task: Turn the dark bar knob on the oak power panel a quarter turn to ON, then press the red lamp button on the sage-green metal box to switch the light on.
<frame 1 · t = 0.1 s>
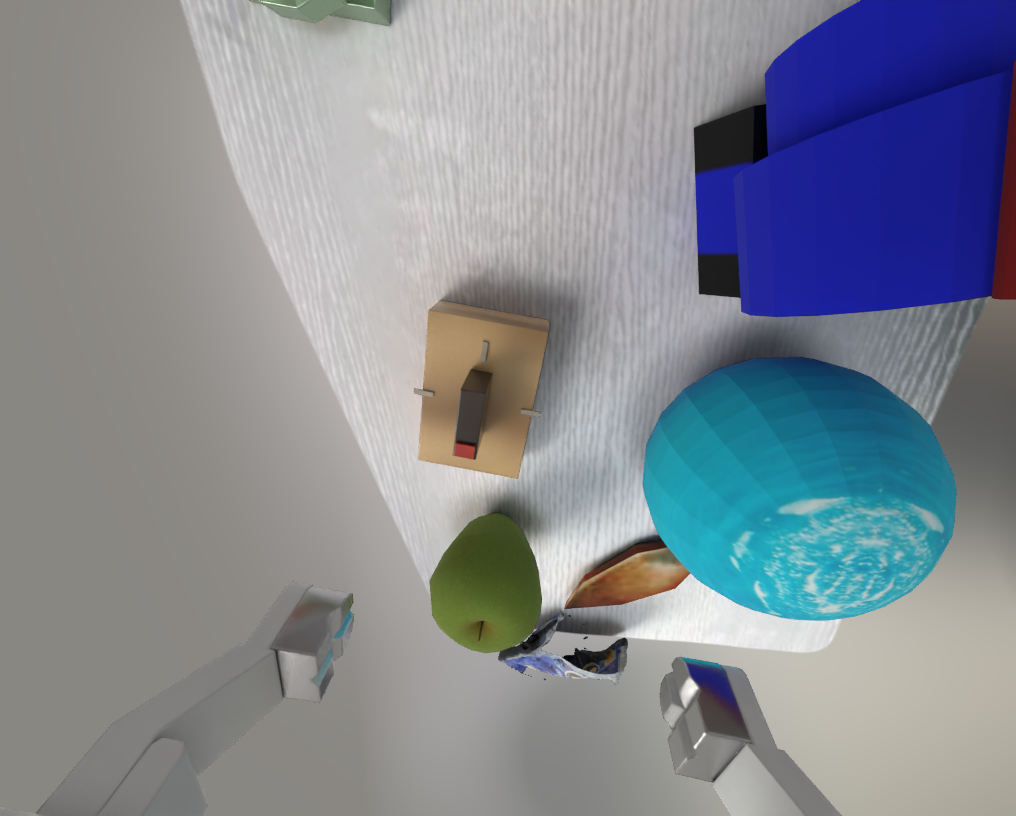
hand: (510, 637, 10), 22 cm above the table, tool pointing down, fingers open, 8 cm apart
snack package: (506, 640, 41), point 3 cm above the table
wooden boat shaped bowl: (630, 590, 37), point 3 cm above the table
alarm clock: (804, 178, 24), on the table
decorative orb: (724, 420, 31), on the table
power panel: (483, 385, 32), on the table
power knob: (472, 414, 28), point 5 cm above the table, hinge at 0.0°
apple: (498, 523, 38), on the table
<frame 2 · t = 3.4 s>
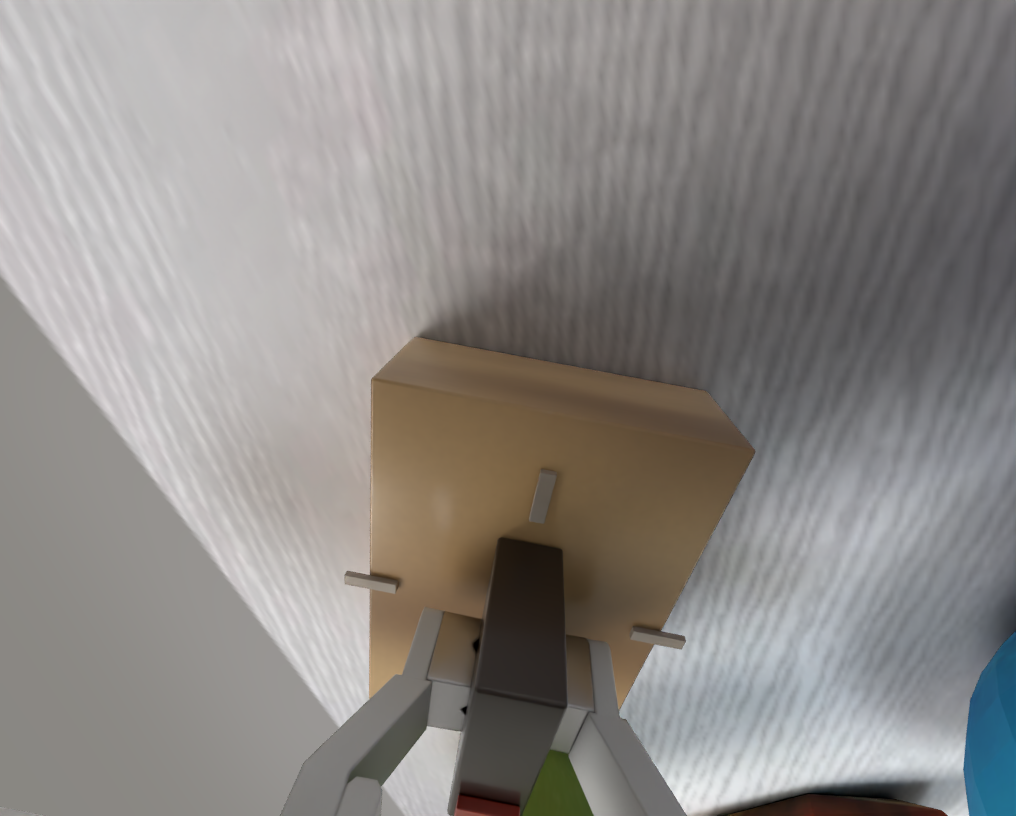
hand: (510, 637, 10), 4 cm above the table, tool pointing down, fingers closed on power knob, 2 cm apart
power panel: (521, 528, 14), on the table
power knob: (507, 681, 9), point 5 cm above the table, hinge at 0.0°, touching gripper
apple: (537, 745, 20), on the table
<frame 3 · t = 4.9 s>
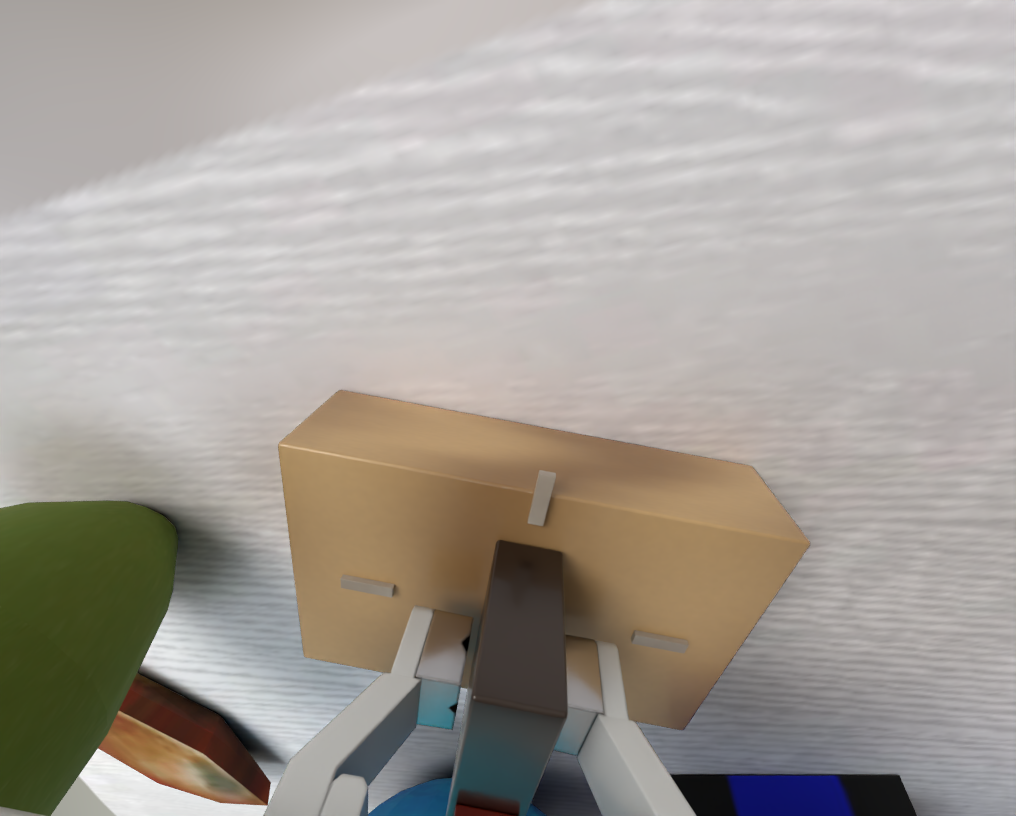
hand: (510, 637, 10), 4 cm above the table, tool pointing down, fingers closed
wooden boat shaped bowl: (111, 765, 19), point 3 cm above the table
decorative orb: (475, 785, 22), on the table
power panel: (520, 530, 13), on the table
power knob: (505, 687, 9), point 5 cm above the table, hinge at 89.9°
apple: (143, 521, 15), on the table
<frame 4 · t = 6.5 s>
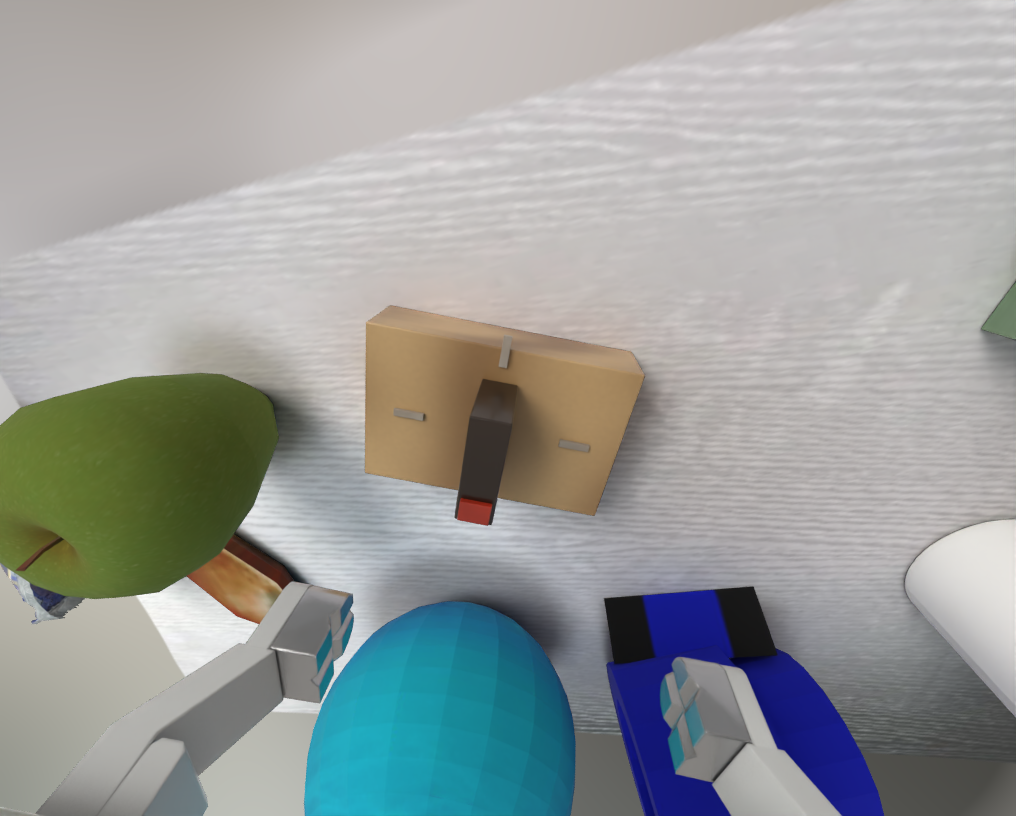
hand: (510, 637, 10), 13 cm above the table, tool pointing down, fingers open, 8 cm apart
wooden boat shaped bowl: (213, 587, 27), point 3 cm above the table
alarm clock: (689, 645, 30), on the table
decorative orb: (468, 621, 31), on the table
power panel: (498, 400, 22), on the table
bottle: (977, 566, 24), on the table
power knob: (486, 451, 17), point 5 cm above the table, hinge at 89.9°
apple: (250, 403, 23), on the table
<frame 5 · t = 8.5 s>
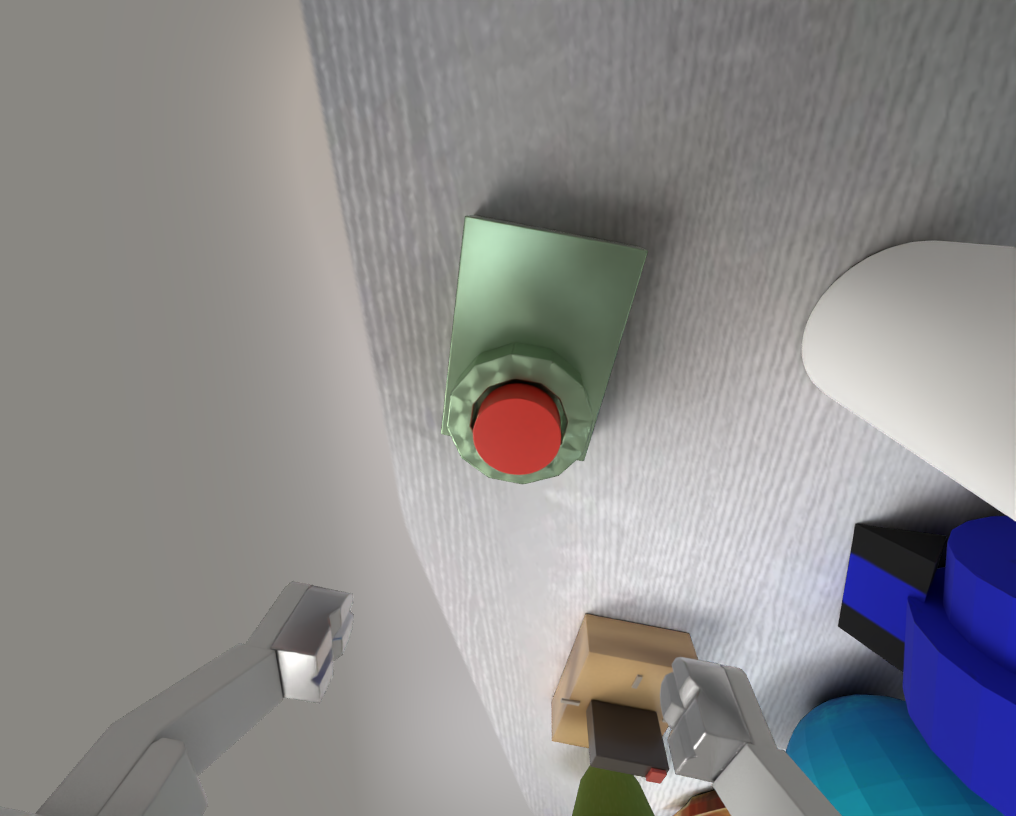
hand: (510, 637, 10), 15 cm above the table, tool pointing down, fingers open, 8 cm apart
lamp button: (517, 429, 19), point 4 cm above the table, slide at 0.1 cm
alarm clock: (952, 559, 26), on the table
decorative orb: (844, 705, 33), on the table
power panel: (614, 670, 33), on the table
bottle: (885, 327, 20), on the table
lamp box: (533, 340, 22), on the table
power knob: (625, 740, 29), point 5 cm above the table, hinge at 89.9°
apple: (606, 758, 40), on the table
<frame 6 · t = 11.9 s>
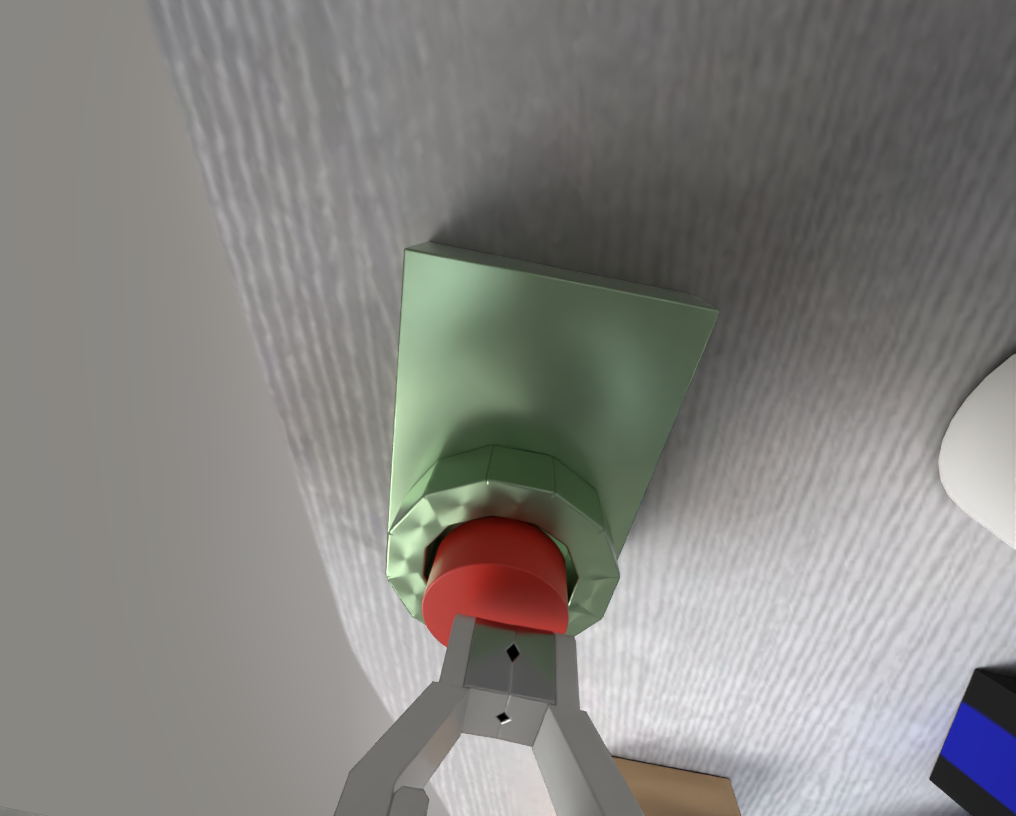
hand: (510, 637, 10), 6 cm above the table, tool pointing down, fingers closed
lamp button: (497, 590, 12), point 4 cm above the table, slide at 0.1 cm
power panel: (629, 811, 26), on the table
lamp box: (524, 427, 14), on the table
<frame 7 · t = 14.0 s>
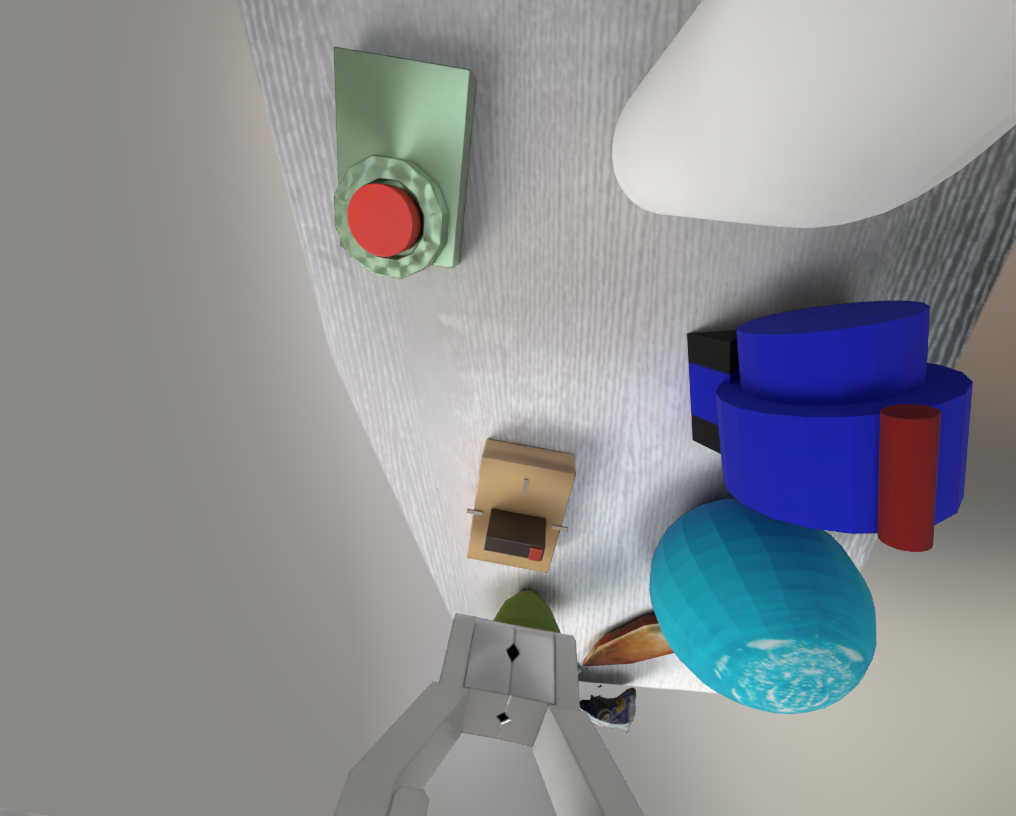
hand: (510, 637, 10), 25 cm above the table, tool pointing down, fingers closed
lamp button: (385, 220, 25), point 4 cm above the table, slide at 0.1 cm
snack package: (534, 692, 48), point 3 cm above the table
wooden boat shaped bowl: (638, 655, 44), point 3 cm above the table
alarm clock: (771, 366, 32), on the table
decorative orb: (714, 526, 39), on the table
power panel: (519, 497, 39), on the table
bottle: (675, 144, 26), on the table
lamp box: (409, 170, 28), on the table
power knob: (515, 534, 35), point 5 cm above the table, hinge at 89.9°
apple: (527, 597, 46), on the table
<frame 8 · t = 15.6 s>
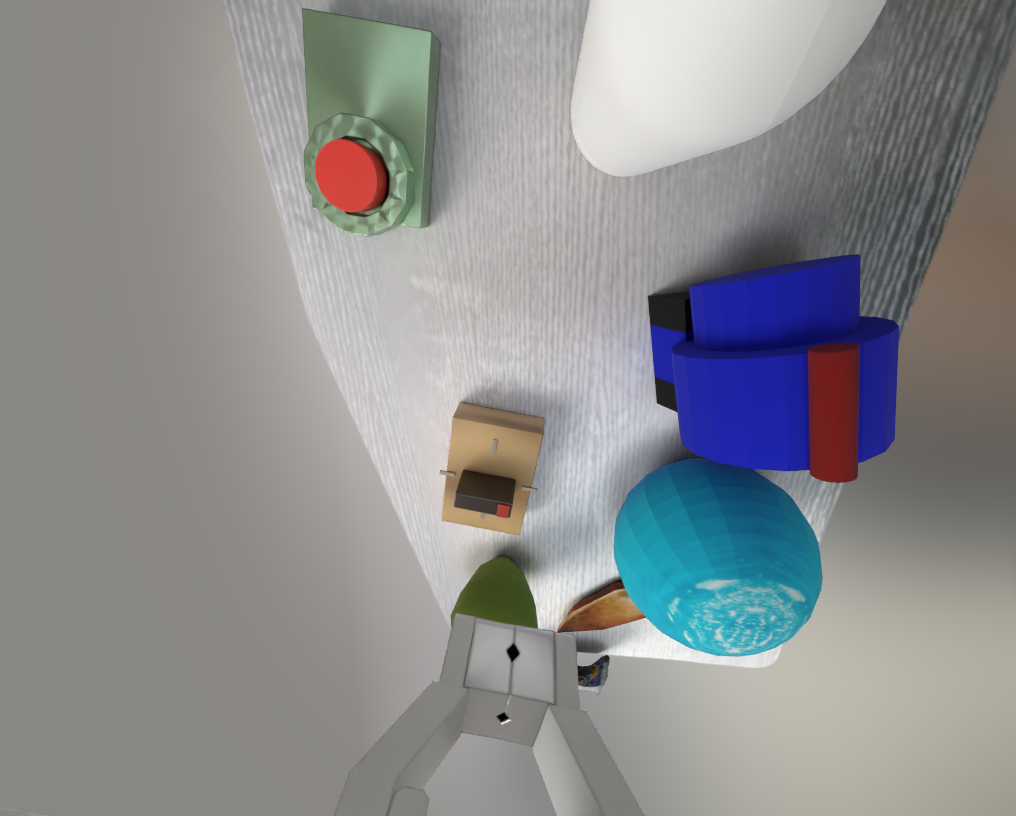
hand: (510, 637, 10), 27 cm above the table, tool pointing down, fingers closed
lamp button: (352, 177, 26), point 4 cm above the table, slide at 0.1 cm
snack package: (510, 658, 49), point 3 cm above the table
wooden boat shaped bowl: (609, 619, 46), point 3 cm above the table
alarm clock: (729, 329, 33), on the table
decorative orb: (681, 490, 40), on the table
power panel: (492, 462, 41), on the table
bottle: (631, 107, 27), on the table
lamp box: (378, 133, 29), on the table
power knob: (485, 493, 36), point 5 cm above the table, hinge at 89.9°
apple: (503, 563, 47), on the table
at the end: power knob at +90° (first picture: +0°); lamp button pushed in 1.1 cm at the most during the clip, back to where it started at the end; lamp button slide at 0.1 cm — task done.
